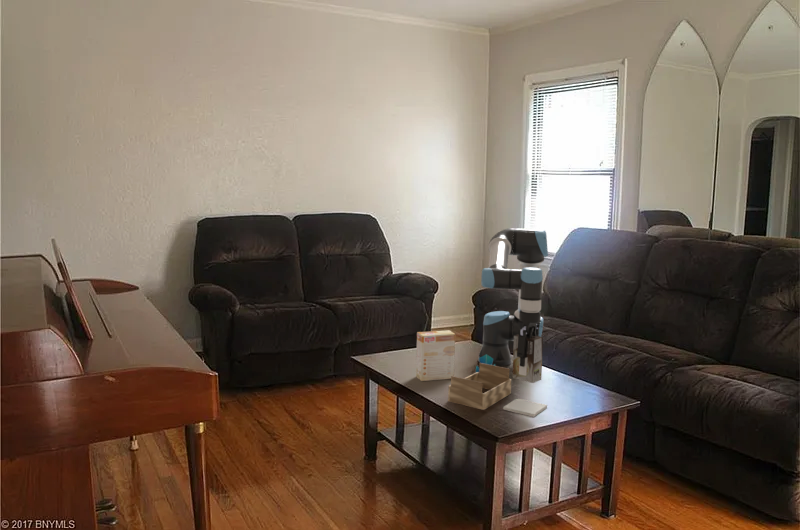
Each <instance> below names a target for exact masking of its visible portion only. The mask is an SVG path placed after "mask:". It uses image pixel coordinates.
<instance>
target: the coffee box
mask: <svg viewBox="0 0 800 530" xmlns="http://www.w3.org/2000/svg"><path fill="white" fill-rule="evenodd" d="M518 337H519V334H517V335H515V336H514V341H513V350H512V352H513V355H512V379H514V380H515V379H516V380H520V381H523V382H527V383H531V384H534V383H537V382H540V381H542V371H543V350H544V349H543V346H544V337H543V336H541V337H540V336H532V337H531V338H526V340H527V341H528V351H527V356H526V357H527V358H528V359H527V375H526V376H525V375H520V374H519V362H520V357H517V348H518ZM526 337H527V336H526Z"/></svg>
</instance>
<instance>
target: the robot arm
mask: <svg viewBox="0 0 800 530" xmlns="http://www.w3.org/2000/svg"><path fill="white" fill-rule="evenodd" d="M547 238H548V236H547V232H546V230H545V229H540V228H539V229H538V228H512V227H511V228H505V229H501V230H500V231H498V232H497V233H495V234H494V235H493V236H492V237H491V239H490V240H489V243H488V252H489V258H488V267H484V268H482V270H481V282H480V284H481V287H483V288H486V289H500V290H501V289H504V290H517V291H518V301H517V302H518V305H517V309H516V310H515V311H514V313H513V315H512V314H511V313H510V312H509V311H508V310H507V311H504V310H497V311H491V312H488V313H485V315H484V317H483V322H482V325H483V330H482V331H483V332H482V345H481V349H480V351H479V353H478V357H477V358H478V359H477V361H478V363H480V360H479V358H480V357H482V356H484V355H486V354H487V355H488V356H490V357H491V358H493V363H492V365H494V364H495V366H499V367H505V366H509V365H511V364H512V356H511V352H510V348H509V342H514V336H515V335H517V334H519V337H518V348H517V357H520V362H519V374H520V375H525V376H526V375H527V359H528V358H527V357H526V356H527V351H528V341H527V340H526V338H531V337H532V336H540V337H542V333H543V328H544V317H542V316H541V310H542V291H543V280H544V279H543V278H544V275H543V269H541V264H542V263H543V262H544V261H545V258H546V257H548V256H549V251H548V240H547ZM509 256H516V260H517V261H518V262H519V265H520V266H519V269H517V268H514V269H513V268H509V266H508V265H509ZM526 336H527V337H526Z"/></svg>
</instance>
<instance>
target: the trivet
mask: <svg viewBox="0 0 800 530" xmlns="http://www.w3.org/2000/svg"><path fill="white" fill-rule="evenodd" d="M547 408H548V404H545V403H544V404H543V403H540V402H536V401H532V400H527V399H523V398H516V399H513V400H512V401H511V402H509V403H507V404H505V405H504V406H503V409H502V410H504V411H506V412H507V411H509V412H513V413H516V414H521V415H525V416H527V417H528V416H530V417H533V418H535V417H536V416H537V415H539V414H541V413H542V412H543V411H544V410H546V409H547Z"/></svg>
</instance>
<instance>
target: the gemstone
mask: <svg viewBox="0 0 800 530" xmlns="http://www.w3.org/2000/svg"><path fill="white" fill-rule="evenodd" d="M479 360H480V362H479V364H480V363H484V364H489V365H492V363H493V358H491V357H490V356H488V355H487V354H486V355H484V356H482V357H480V358H479ZM494 366H495V364H494ZM479 368H480V366H478V365H476V366H475V373H476V372H479Z"/></svg>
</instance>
